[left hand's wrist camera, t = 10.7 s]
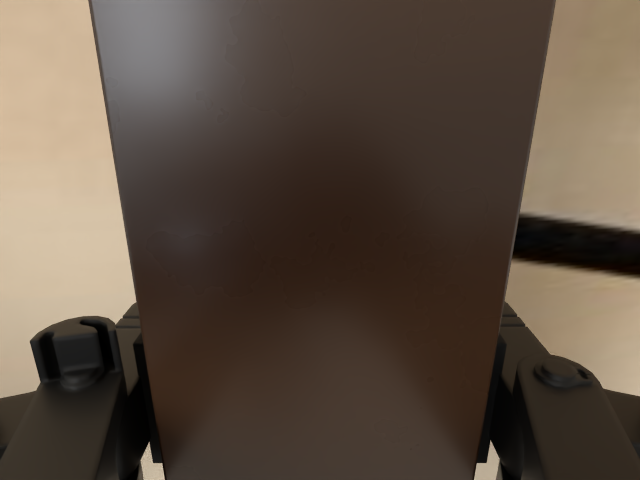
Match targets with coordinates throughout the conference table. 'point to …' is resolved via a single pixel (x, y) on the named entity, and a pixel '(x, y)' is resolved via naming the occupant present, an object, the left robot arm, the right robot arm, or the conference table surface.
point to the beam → (320, 223)
